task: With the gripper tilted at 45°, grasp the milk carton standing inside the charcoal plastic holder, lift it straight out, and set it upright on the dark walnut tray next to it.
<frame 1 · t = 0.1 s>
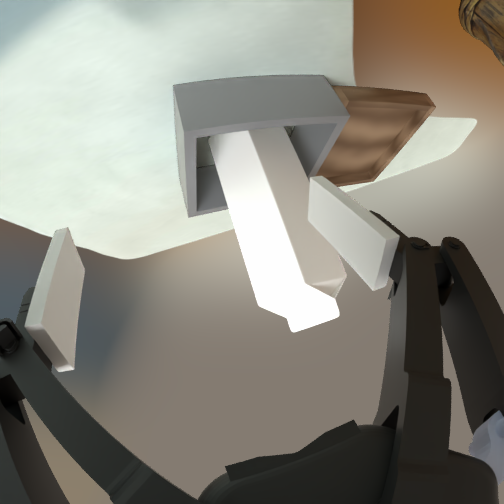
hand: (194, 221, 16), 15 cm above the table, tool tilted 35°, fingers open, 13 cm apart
tray: (354, 137, 40), on the table
holder: (243, 127, 32), on the table
milk: (242, 126, 32), resting in holder
wooden mug: (470, 3, 17), on the table
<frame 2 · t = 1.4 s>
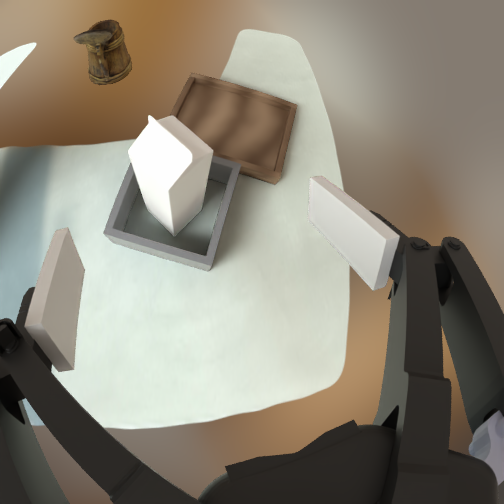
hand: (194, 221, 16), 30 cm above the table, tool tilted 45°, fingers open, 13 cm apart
tray: (230, 127, 50), on the table
holder: (174, 209, 46), on the table
milk: (174, 210, 46), resting in holder
wooden mug: (109, 77, 47), on the table
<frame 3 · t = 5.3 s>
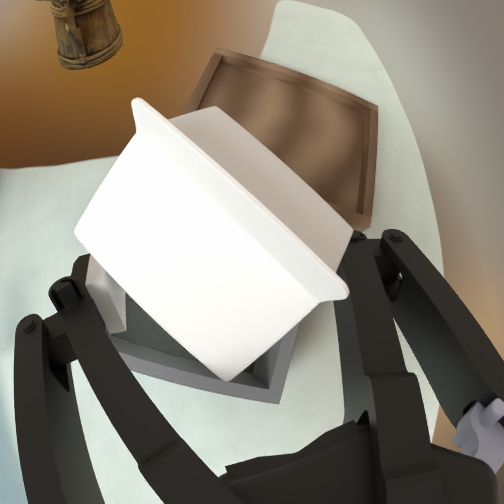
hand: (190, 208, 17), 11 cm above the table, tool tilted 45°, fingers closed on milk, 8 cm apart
tray: (282, 136, 31), on the table
holder: (198, 284, 27), on the table
milk: (198, 284, 27), resting in holder, touching gripper
wooden mug: (87, 59, 29), on the table
when the fingers open (13 cm above the table, at t = 12.3 s): milk drops 1 cm, resting on tray.
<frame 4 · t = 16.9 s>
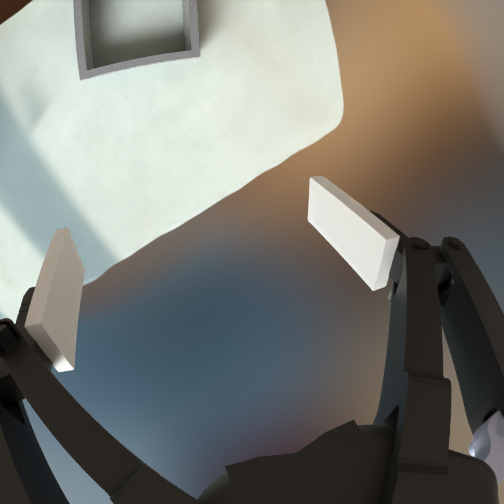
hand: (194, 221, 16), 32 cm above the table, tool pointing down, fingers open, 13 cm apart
holder: (136, 18, 30), on the table
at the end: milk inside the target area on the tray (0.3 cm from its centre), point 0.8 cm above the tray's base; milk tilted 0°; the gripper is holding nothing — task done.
